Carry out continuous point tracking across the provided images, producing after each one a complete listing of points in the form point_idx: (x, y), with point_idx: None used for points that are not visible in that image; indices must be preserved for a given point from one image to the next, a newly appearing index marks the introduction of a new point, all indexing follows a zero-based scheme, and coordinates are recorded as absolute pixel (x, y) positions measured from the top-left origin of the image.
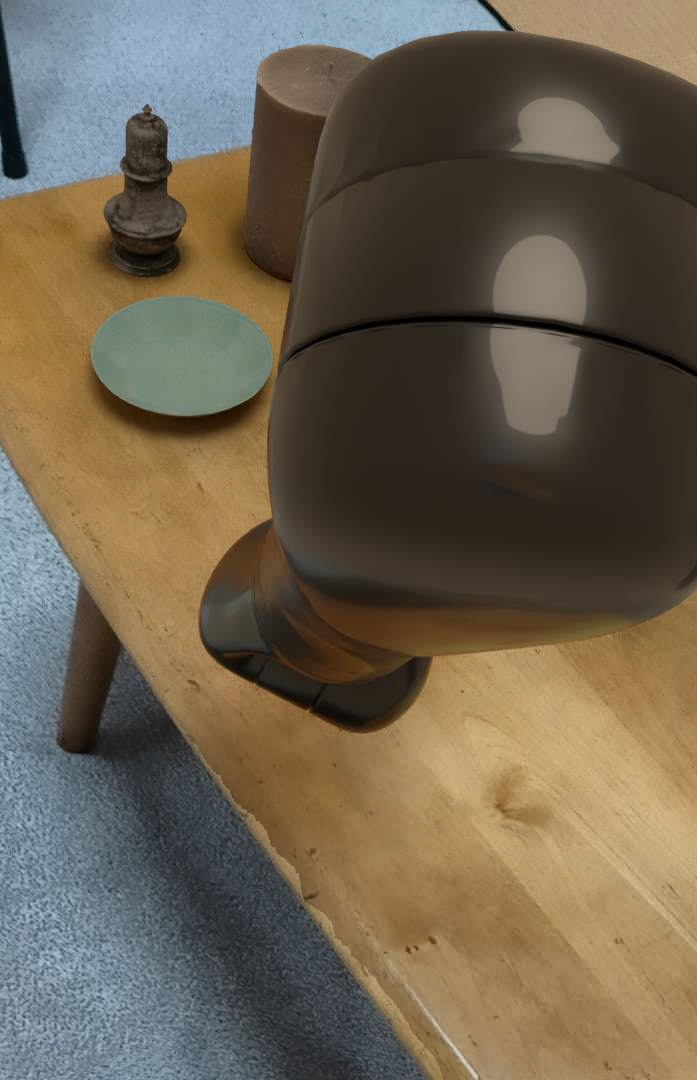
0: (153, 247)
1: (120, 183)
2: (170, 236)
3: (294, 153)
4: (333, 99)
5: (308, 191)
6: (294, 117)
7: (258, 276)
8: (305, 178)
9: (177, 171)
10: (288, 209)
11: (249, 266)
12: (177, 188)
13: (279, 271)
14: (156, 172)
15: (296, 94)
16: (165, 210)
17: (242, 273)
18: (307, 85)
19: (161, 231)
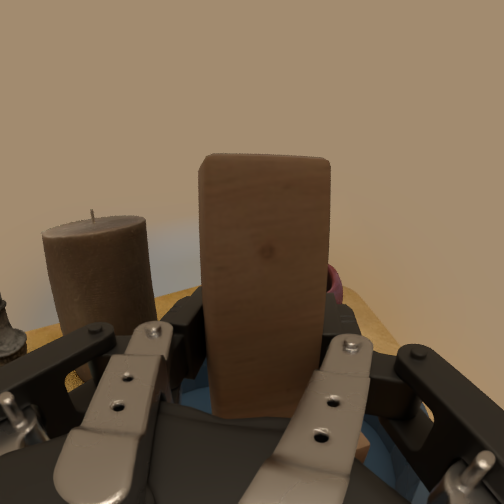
0: (2, 365)
1: (27, 331)
2: (10, 357)
3: (60, 278)
4: (86, 228)
5: (79, 310)
6: (53, 245)
7: (77, 385)
8: (73, 299)
9: (58, 323)
10: (73, 329)
11: (73, 377)
12: (53, 332)
13: (87, 380)
14: None
15: (60, 231)
16: (6, 338)
17: (66, 383)
18: (73, 227)
19: (2, 353)
